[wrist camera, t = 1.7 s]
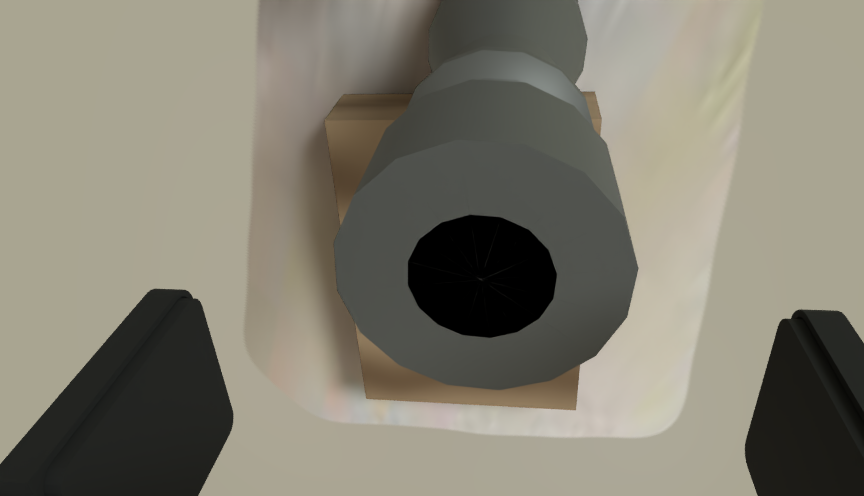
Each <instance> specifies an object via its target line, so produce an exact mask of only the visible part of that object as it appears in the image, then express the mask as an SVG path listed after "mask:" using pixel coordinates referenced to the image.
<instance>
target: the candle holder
mask: <svg viewBox="0 0 864 496" xmlns="http://www.w3.org/2000/svg"><path fill="white" fill-rule="evenodd" d="M587 40H588V39H587V35H586V31H585V27H584V23H583V19H582V16H581V12H580V8H579V4H578V0H442V1H441V3H440V6H439V8H438V10H437V13H436V15H435V17H434V20H433V22H432V24H431V27H430V29H429V55H428V62H429V65H430V67H431V70H432V73H431V74H430V75H429V76H427V77H426V78H425V79H424V80H423V81H422V82H421V83H420V84H419V85H418V86H417V87H416V89H415V91H414V93H413V95H412V98H411V100H410V102H409V105H408V107H407V109H406V111H405V112H404V113H403V114H402V115H401V116H399V117H398V118H397V119H396V120H395V121H394V122H393V123H392V124H391V125H390V126H388V127H387V128H386V130H385V132H384V134H383V136H382V138H381V140H380V142H379V144H378V146H377V148H376V150H375V152H374V155H373V157H372V159H371V161H370V163H369V165H368V167H367V169H366V171H365V173H364V175H363V177H362V179H361V181H360V183H359V185H358V187H357V189H356V192H355V194H354V196H353V198H352V200H351V203H350V205H349V207H348V210H347V212H346V215H345V217H344V219H343V222H342V224H341V226H340V229H339V231H338V234H337V236H336V238H335V241H334V254H335V267H336V281H337V291H338V293H339V294H340V296H341V298H342V300H343V302H344V304H345V305H346V307H347V309H348V311H349V313H350V314H351V316H352V318H353V320H354V322H355V323H356V325H357V327H358V329H359V331H360V333H362V334H363V335H364V336H365V337H366V338H367V339H369V340H370V341H371V342H372V343H373V344H375V345H376V346H377V347H378V348H379V349H380V350H382V351H383V352H384V353H385V354H386V355H388V356H389V357H390V358H391V359H392V360H393V361H395V362H396V363H397V364H398V365H400V366H402V367H405V368H407V369H410V370H412V371H414V372H417V373H419V374H422V375H424V376H426V377H429V378H431V379H434V380H436V381H439V382H441V383H443V384H446V385H453V386H462V387H472V388H481V389H491V390H504V389H509V388H515V387H520V386H525V385H531V384H536V383H541V382H547V381H551V380H553V379H555V378H557V377H558V376H560V375H562V374H564V373H566V372H567V371H569V370H571V369H573V368H575V367H576V366H578V365H580V364H582V363H584V362H585V361H587V360H589V359H591V358H593V357H594V356H596V355H597V354H598V352H599V351H600V350H601V349H602V347H603V346H604V345H605V344H606V342H607V341H608V340H609V339H610V338H611V336H612V335H613V334H614V333H615V331H616V330H617V329H618V328H619V326H620V325H621V324H622V323H623V322H624V320H625V319H626V318H627V315H628V311H629V307H630V302H631V298H632V294H633V289H634V285H635V281H636V277H637V272H638V265H637V261H636V257H635V253H634V249H633V245H632V241H631V237H630V233H629V229H628V225H627V221H626V217H625V213H624V209H623V205H622V201H621V197H620V193H619V189H618V185H617V181H616V177H615V174H614V170H613V166H612V163H611V159H610V155H609V151H608V148H607V144H606V143H605V141H604V140H603V139H602V138H601V137H600V136H599V134H598V133H597V132H596V131H595V130H594V127H593V123H592V119H591V116H590V112H589V109H588V105H587V101H586V98H585V96H584V95H583V93H582V92H581V91H580V90H579V89H578V88H577V86H576V85H575V83H576V81H577V80H578V78H579V76H580V75H581V73H582V71H583V67H584V60H585V53H586V46H587Z"/></svg>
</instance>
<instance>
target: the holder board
mask: <svg viewBox="0 0 864 496" xmlns="http://www.w3.org/2000/svg"><path fill="white" fill-rule="evenodd" d="M582 93H583V95H584V96H585V98H586V101H587V105H588V109H589V112H590V116H591V119H592V123H593V127H594V130H595V131H596V132H597V133H598V134H599V136H600V132H601V120H602V119H601V115H600V111H599V107H598V103H597V99H596V95H595V92H582ZM412 95H413V94H348V95H342V97H341V98H340V100H339V101H338V102H337V104H336V105H335V107H334V108H333V109H332V111H331V112H330V114H329V115H328V116H327V118H326V119H325V127H326V134H327V141H328V147H329V154H330V160H331V167H332V174H333V180H334V187H335V194H336V200H337V207H338V214H339V220H340V226H341V224H342V222H343V219H344V217H345V215H346V212H347V210H348V207H349V205H350V203H351V200H352V198H353V196H354V194H355V192H356V189H357V187H358V185H359V183H360V181H361V179H362V177H363V175H364V173H365V171H366V169H367V167H368V165H369V163H370V161H371V159H372V157H373V155H374V152H375V150H376V148H377V146H378V144H379V142H380V140H381V138H382V136H383V134H384V132H385V130H386V128H387V127H388V126H390V125H391V124H392V123H393V122H394V121H395V120H396V119H397V118H398V117H399V116H401V115H402V114H403V113H404V112H405V111H406V109H407V107H408V105H409V102H410V100H411V98H412ZM355 326H356V333H357V340H358V346H359V353H360V360H361V366H362V373H363V380H364V386H365V393H366V399H378V400H397V401H415V402H434V403H452V404H471V405H489V406H508V407H526V408H545V409H563V410H576V403H577V391H578V380H579V369H580V365H578V366H576V367H575V368H573V369H571V370H569V371H567V372H566V373H564V374H562V375H560V376H558V377H557V378H555V379H553V380H551V381H547V382H541V383H536V384H531V385H525V386H520V387H515V388H509V389H504V390H491V389H481V388H472V387H462V386H453V385H446V384H443V383H441V382H439V381H436V380H434V379H431V378H429V377H426V376H424V375H422V374H419V373H417V372H414V371H412V370H410V369H407V368H405V367H402V366H400V365H398V364H397V363H396V362H395V361H393V360H392V359H391V358H390V357H389V356H388V355H386V354H385V353H384V352H383V351H382V350H380V349H379V348H378V347H377V346H376V345H375V344H373V343H372V342H371V341H370V340H369V339H367V338H366V337H365V336H364V335H363V334H362V333H360V331H359V329H358V327H357V325H356V323H355Z"/></svg>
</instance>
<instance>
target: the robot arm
mask: <svg viewBox="0 0 864 496" xmlns="http://www.w3.org/2000/svg"><path fill="white" fill-rule="evenodd" d="M232 425H233V410H232V406H231V403H230V400H229V396H228V393H227V390H226V386H225V382H224V379H223V376H222V372H221V369H220V365H219V362H218V359H217V355H216V352H215V348H214V345H213V342H212V339H211V335H210V331H209V328H208V325H207V322H206V318H205V314H204V311H203V307H202V305H201V302H200V301H199V300H198V299H193V297H192V295H191V294H190V293H189V292H188V291H186V290H174V289H153V290H150V291H149V292H148V293H147V294H146V295H145V296H144V297H143V298H142V300H141V301H140V302H139V303H138V304H137V305H136V307H135V308H134V309H133V310H132V311H131V313H130V314H129V315H128V316H127V317H126V318H125V320H124V321H123V322H122V323H121V324H120V325H119V326H118V328H117V329H116V330H115V331H114V332H113V333H112V335H111V336H110V337H109V338H108V339H107V340H106V342H105V343H104V344H103V345H102V346H101V348H100V349H99V350H98V351H97V352H96V353H95V355H94V356H93V357H92V358H91V359H90V360H89V362H88V363H87V364H86V365H85V366H84V367H83V369H82V370H81V371H80V372H79V373H78V374H77V375H76V377H75V378H74V379H73V380H72V381H71V382H70V384H69V385H68V386H67V387H66V388H65V389H64V391H63V392H62V393H61V394H60V395H59V396H58V398H57V399H56V400H55V401H54V402H53V403H52V405H51V406H50V407H49V408H48V409H47V410H46V412H45V413H44V414H43V415H42V416H41V417H40V419H39V420H38V421H37V422H36V423H35V424H34V425H33V427H32V428H31V429H30V430H29V431H28V433H27V434H26V435H25V436H24V437H23V438H22V440H21V441H20V442H19V443H18V444H17V445H16V446H15V448H14V449H13V450H12V451H11V452H10V454H9V455H8V456H7V457H6V458H5V459H4V460H3V462H2V463H1V464H0V496H198V495H199V493H200V491H201V489H202V487H203V485H204V483H205V481H206V479H207V477H208V475H209V473H210V471H211V469H212V467H213V465H214V463H215V461H216V460H217V458H218V456H219V454H220V452H221V450H222V448H223V446H224V444H225V442H226V440H227V438H228V436H229V434H230V431H231V429H232ZM745 457H746V463H747V466H748V469H749V472H750V475H751V478H752V481H753V484H754V486H755V489H756V492H757V495H758V496H864V343H863V342H862V340H861V339H860V337H859V336H858V334H857V333H856V331H855V330H854V328H853V327H852V325H851V324H850V322H849V321H848V320H847V318H846V316H845V315H844V314H843V313H842V312H839V311H826V310H797V311H795V312H794V314H793V315H792V318H791V319H782V320H781V322H780V323H779V326H778V329H777V332H776V336H775V340H774V343H773V347H772V350H771V354H770V357H769V361H768V364H767V368H766V371H765V375H764V378H763V382H762V386H761V389H760V392H759V396H758V400H757V403H756V407H755V410H754V414H753V418H752V421H751V424H750V428H749V431H748V435H747V439H746V443H745Z"/></svg>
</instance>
